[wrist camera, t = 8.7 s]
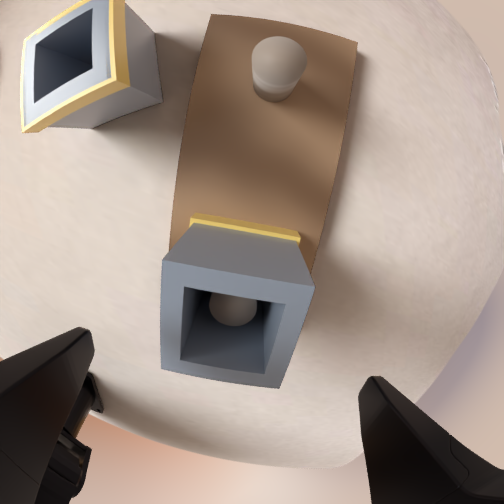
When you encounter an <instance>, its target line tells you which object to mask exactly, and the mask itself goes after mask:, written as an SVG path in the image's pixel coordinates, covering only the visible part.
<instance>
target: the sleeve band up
mask: <svg viewBox="0 0 504 504" xmlns="http://www.w3.org/2000/svg"><path fill="white" fill-rule="evenodd" d="M162 102H163V98H162V91H161V84H160V77H159V69H158V62H157V53H156V44H155V35H154V32H153V31H152V29H151V28H150V27H149V26H148V25H147V24H146V23H145V22H144V21H143V20H142V19H141V18H140V17H139V16H138V15H137V14H136V13H135V12H134V11H133V10H132V9H131V8H130V7H129V6H128V5H127V4H126V3H125V0H81V1H80V2H78V3H76V4H75V5H73V6H71V7H70V8H68V9H66V10H65V11H63V12H62V13H60V14H59V15H57V16H56V17H54V18H53V19H51V20H50V21H48V22H47V23H46V24H44V25H43V26H42V27H40V28H39V29H38V30H36V31H35V32H34V33H32V34H31V35H30V36H29V37H27V38H26V39H25V40H24V44H23V53H22V64H21V85H20V105H21V127H22V133H35V132H40V131H41V130H43V129H45V128H46V127H63V128H85V129H92V128H94V127H96V126H99V125H101V124H103V123H106V122H108V121H111V120H113V119H116V118H118V117H121V116H124V115H126V114H129V113H132V112H134V111H137V110H140V109H143V108H146V107H149V106H152V105H155V104H158V103H162Z"/></svg>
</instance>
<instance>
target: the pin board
mask: <svg viewBox="0 0 504 504" xmlns="http://www.w3.org/2000/svg"><path fill="white" fill-rule="evenodd" d="M357 44H358V42H355V41H352V40H349V39H346V38H343V37H340V36H337V35H333V34H330V33H327V32H323V31H319V30H315V29H312V28H307V27H303V26H299V25H294V24H289V23H284V22H279V21H273V20H267V19H260V18H252V17H243V16H232V15H217V14H211V17H210V20H209V24H208V27H207V31H206V34H205V38H204V41H203V45H202V49H201V53H200V56H199V60H198V65H197V69H196V73H195V77H194V82H193V86H192V91H191V95H190V100H189V105H188V110H187V115H186V121H185V126H184V132H183V137H182V143H181V150H180V156H179V163H178V170H177V177H176V185H175V193H174V201H173V210H172V220H171V231H170V243H169V251H170V250H171V249H172V247H173V246H174V245H175V244H176V243H177V242H178V240H179V239H180V238H181V237H182V236H183V234H184V233H185V232H186V231H187V230H188V229H189V225H190V218H191V217H192V216H193V215H194V214H195V213H201V214H207V215H213V216H219V217H225V218H230V219H236V220H242V221H247V222H253V223H258V224H264V225H269V226H274V227H280V228H285V229H290V230H295V231H298V233H299V235H300V237H301V239H300V243H299V249H300V251H301V254H302V256H303V258H304V261H305V263H306V266H307V268H308V270H309V273H310V274H311V270H312V267H313V263H314V260H315V256H316V252H317V249H318V245H319V241H320V237H321V233H322V230H323V226H324V222H325V218H326V214H327V210H328V205H329V201H330V197H331V193H332V188H333V184H334V179H335V175H336V170H337V166H338V161H339V156H340V151H341V146H342V141H343V136H344V130H345V125H346V119H347V114H348V108H349V102H350V96H351V89H352V83H353V76H354V68H355V61H356V53H357ZM209 308H210V312H211V314H212V315H213V317H214V318H215V319H216V320H217V321H219V322H220V323H222V324H224V325H228V326H241V325H244V324H246V323H248V322H249V321H251V320H252V319H253V317H254V316H255V314H256V310H257V300H256V299H250V298H244V297H238V296H233V295H227V294H221V293H216V292H212V295H211V298H210V302H209Z"/></svg>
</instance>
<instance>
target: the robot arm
mask: <svg viewBox="0 0 504 504" xmlns="http://www.w3.org/2000/svg"><path fill="white" fill-rule="evenodd" d="M94 352H95V350H94V344H93V339H92V334H91V332H90V330H88V329H85V328H82V327H77V328H75V329H72V330H70V331H68V332H66V333H63V334H61V335H59V336H56V337H54V338H52V339H50V340H47V341H45V342H43V343H41V344H38V345H36V346H34V347H32V348H29V349H27V350H25V351H23V352H20V353H18V354H16V355H14V356H11V357H9V358H7V359H5V360H2V361H1V362H0V504H69V502H70V500H71V498H73V497H75V496H77V495H78V493H79V492H80V491H81V489H82V487H83V485H84V482H85V478H86V472H87V468H88V463H89V459H90V455H91V451H92V449H91V448H89V447H88V446H85V445H84V444H82V443H81V442H79V441H78V440H77V439H76V437H77V435H78V433H79V431H80V429H81V427H82V425H83V423H84V421H85V419H86V417H87V415H88V413H89V411H90V409H91V410H94V411H96V412H99V413H103V411H104V408H103V406H102V403H101V400H100V397H99V394H98V391H97V388H96V385H95V381H94V378H93V376H92V375H91V374H90V373H88V369H89V366H90V364H91V361H92V359H93V356H94ZM358 401H359V412H360V425H361V436H362V442H363V448H364V454H365V459H366V466H367V472H368V479H369V486H370V494H371V502H372V504H504V470H502V469H499V468H497V467H495V466H493V465H492V464H490V463H489V462H487V461H486V460H484V459H483V458H481V457H480V456H478V455H477V454H475V453H474V452H472V451H471V450H469V449H468V448H467V447H465V446H464V445H463V444H461V443H460V442H459V441H458V440H456V439H455V438H454V437H453V436H452V435H449V433H448V432H447V431H446V430H444V429H443V428H442V427H441V426H440V425H438V424H437V423H436V422H435V421H434V420H432V419H431V418H430V417H429V416H428V415H427V414H425V413H424V412H423V411H422V410H420V409H419V408H418V407H417V406H416V405H415V404H414V403H412V402H411V401H410V400H409V399H408V398H406V397H405V396H404V395H403V394H402V393H401V392H399V391H398V390H397V389H396V388H395V387H394V386H392V385H391V384H390V383H389V382H388V381H387V380H385V379H384V378H383V377H382V376H370V377H369V378H368V379H367V381H366V382H365V384H364V386H363V387H362V389H361V390H360V392H359V396H358Z"/></svg>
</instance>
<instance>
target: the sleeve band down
mask: <svg viewBox="0 0 504 504" xmlns="http://www.w3.org/2000/svg"><path fill="white" fill-rule="evenodd" d="M300 239H301V237H300V235H299V233H298V231H295V230H290V229H285V228H280V227H274V226H269V225H264V224H258V223H253V222H247V221H242V220H236V219H230V218H225V217H219V216H213V215H207V214H201V213H195V214H194V215H193V216H192V217H191V218H190V225H189V229H188V230H187V231H186V232H185V233H184V234H183V236H182V237H181V238H180V239H179V240H178V242H177V243H176V244H175V245H174V246H173V247H172V249H171V250H170V251H169V252H168V253H167V255H166V256H165V257H164V258H163V259H162V274H161V305H160V345H161V369H164V370H168V371H172V372H177V373H181V374H186V375H191V376H195V377H201V378H206V379H211V380H217V381H223V382H229V383H236V384H243V385H250V386H258V387H267V388H277V389H279V388H280V386H281V383H282V380H283V378H284V375H285V373H286V370H287V368H288V365H289V362H290V360H291V357H292V354H293V351H294V349H295V346H296V343H297V340H298V338H299V335H300V332H301V329H302V326H303V323H304V320H305V317H306V314H307V311H308V308H309V305H310V302H311V299H312V296H313V293H314V290H315V285H314V282H313V280H312V277H311V275H310V273H309V270H308V268H307V266H306V263H305V261H304V258H303V256H302V254H301V251H300V249H299V243H300ZM212 292H216V293H221V294H227V295H233V296H238V297H244V298H250V299H256V300H257V310H256V314H255V316H254V317H253V319H252V320H251V321H249V322H248V323H246V324H244V325H241V326H228V325H224V324H222V323H220V322H219V321H217V320H216V319H215V318H214V317H213V315H212V314H211V312H210V308H209V302H210V298H211V295H212Z"/></svg>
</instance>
